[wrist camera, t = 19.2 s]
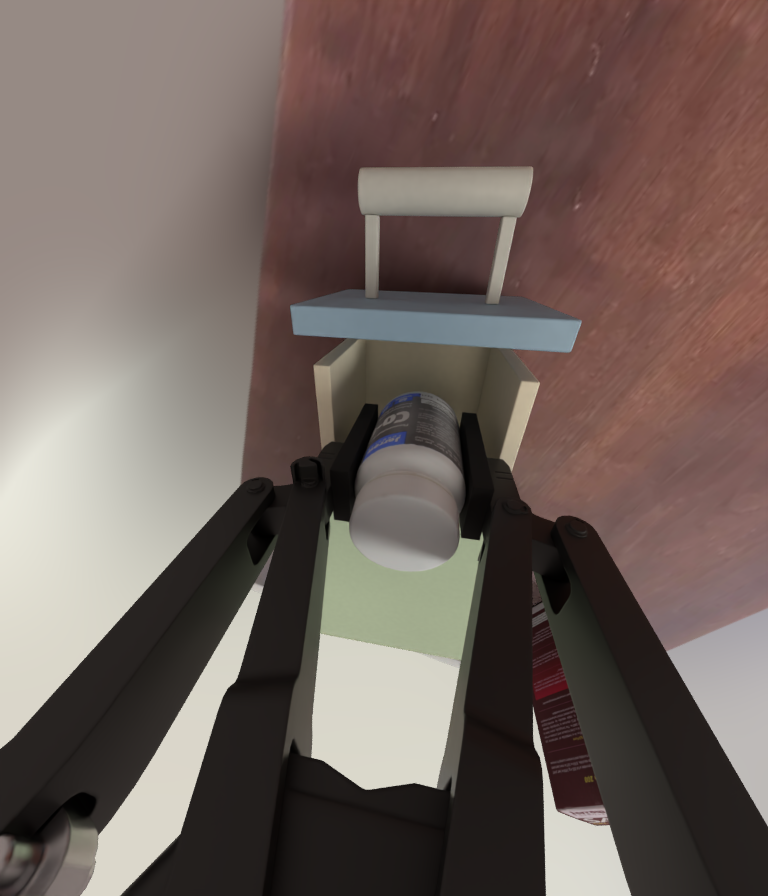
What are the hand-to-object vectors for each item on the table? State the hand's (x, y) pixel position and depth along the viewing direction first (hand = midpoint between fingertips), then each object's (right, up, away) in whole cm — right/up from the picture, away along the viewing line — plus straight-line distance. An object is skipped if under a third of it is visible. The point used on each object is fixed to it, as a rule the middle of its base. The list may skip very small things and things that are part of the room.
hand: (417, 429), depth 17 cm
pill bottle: (0, 0, 0) cm, 1 cm away
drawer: (+1, +5, +4) cm, 7 cm away
